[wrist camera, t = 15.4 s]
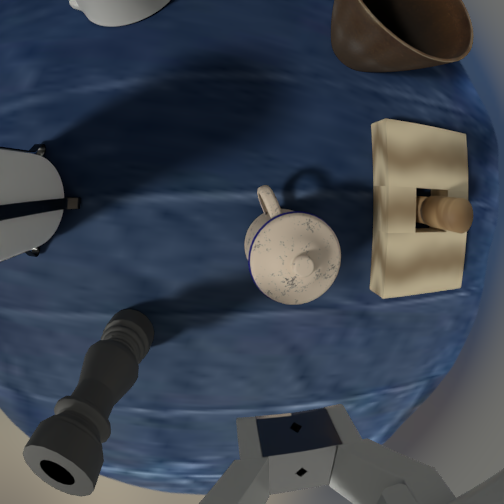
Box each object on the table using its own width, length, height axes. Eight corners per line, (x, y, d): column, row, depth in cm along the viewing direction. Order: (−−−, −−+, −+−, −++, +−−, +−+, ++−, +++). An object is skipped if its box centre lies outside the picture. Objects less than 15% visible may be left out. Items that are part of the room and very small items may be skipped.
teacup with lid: (325, 262, 39) (364, 290, 28) (259, 291, 39) (275, 332, 27) (291, 172, 36) (322, 165, 25) (220, 201, 36) (220, 207, 25)
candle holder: (160, 320, 38) (101, 471, 14) (146, 357, 39) (93, 507, 15) (117, 301, 37) (17, 427, 13) (105, 339, 38) (22, 471, 14)
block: (371, 124, 36) (385, 118, 32) (449, 136, 37) (465, 134, 33) (369, 289, 40) (383, 298, 36) (444, 280, 42) (460, 287, 38)
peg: (404, 193, 38) (450, 197, 28) (426, 195, 39) (473, 199, 29) (403, 223, 39) (449, 233, 29) (425, 223, 39) (472, 233, 30)
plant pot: (415, 94, 36) (491, 65, 20) (324, 105, 35) (385, 60, 19) (381, 8, 32) (436, -43, 17) (289, 9, 32) (322, -63, 16)
